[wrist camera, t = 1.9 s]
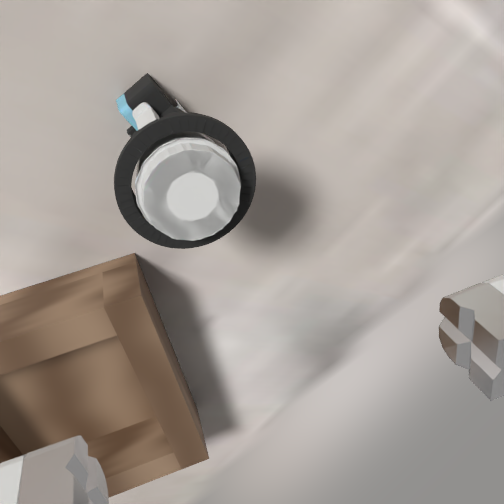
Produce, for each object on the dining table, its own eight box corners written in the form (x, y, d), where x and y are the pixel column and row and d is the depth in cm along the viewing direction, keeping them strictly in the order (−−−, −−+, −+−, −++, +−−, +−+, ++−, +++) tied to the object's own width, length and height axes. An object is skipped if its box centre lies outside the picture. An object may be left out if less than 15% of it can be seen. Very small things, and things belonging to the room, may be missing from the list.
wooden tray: (134, 253, 29) (141, 295, 25) (197, 409, 37) (209, 458, 33) (-108, 330, 27) (-140, 388, 23) (15, 476, 35) (7, 537, 31)
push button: (241, 146, 27) (306, 223, 19) (170, 204, 28) (204, 303, 19) (164, 47, 23) (204, 89, 15) (84, 116, 24) (81, 193, 16)
